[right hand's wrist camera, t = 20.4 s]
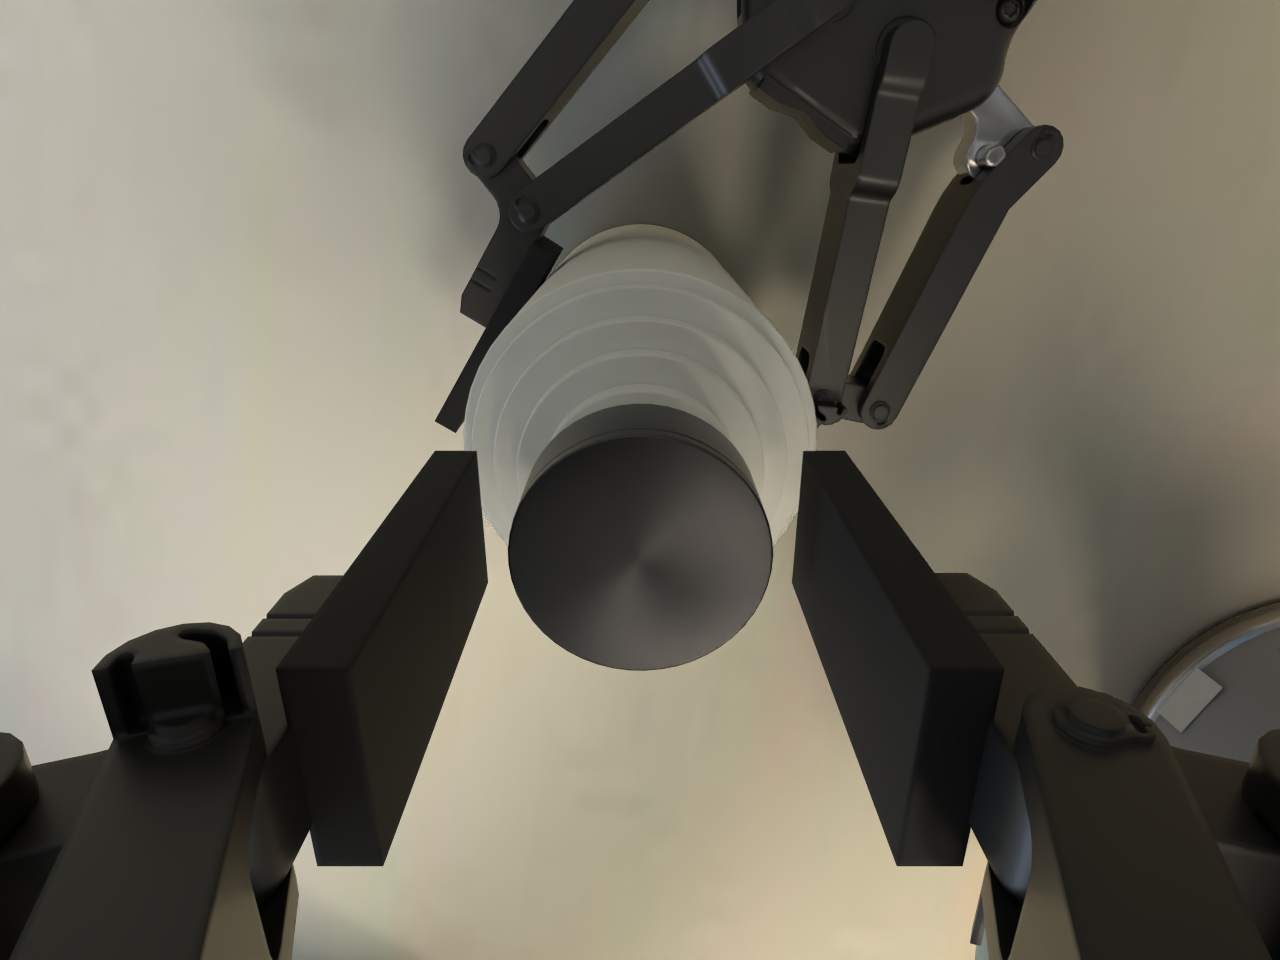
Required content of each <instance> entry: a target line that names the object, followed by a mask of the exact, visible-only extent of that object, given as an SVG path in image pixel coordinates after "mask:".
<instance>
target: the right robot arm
mask: <svg viewBox="0 0 1280 960" xmlns="http://www.w3.org/2000/svg"><path fill="white" fill-rule="evenodd" d="M487 584H488V577H487V565H486V554H485V542H484V530H483V518H482V506H481V495H480V483H479V471H478V459H477V451H435V452H434V453H433V454H432V456H431V457H430V458H429V460H428V461H427V463H426V464H425V465H424V467H423V468H422V469H421V471H420V472H419V473H418V475H417V476H416V478H415V479H414V480H413V482H412V483H411V484H410V486H409V487H408V488H407V490H406V491H405V493H404V494H403V495H402V497H401V498H400V499H399V501H398V502H397V503H396V505H395V506H394V508H393V509H392V510H391V512H390V513H389V514H388V516H387V517H386V518H385V520H384V521H383V523H382V524H381V525H380V527H379V528H378V529H377V531H376V532H375V533H374V535H373V536H372V538H371V539H370V540H369V542H368V543H367V544H366V546H365V547H364V548H363V550H362V551H361V553H360V554H359V555H358V557H357V558H356V559H355V561H354V562H353V563H352V565H351V566H350V568H349V569H348V570H347V572H346V573H345V574H344V576H312V577H310V578H309V579H307V580H306V581H304V582H302V583H301V584H299V585H297V586H296V587H294V588H293V589H291V590H289V591H288V592H286V593H284V595H283V596H282V597H281V598H280V599H279V601H278V602H277V603H276V604H275V605H274V606H273V608H272V609H271V610H270V611H269V612H268V614H267V618H266V619H263V620H262V621H261V622H260V623H259V624H258V625H257V627H256V628H255V629H254V630H253V631H252V636H251V637H247V639H246V640H245V641H244V642H243V643H242V640H241V635H240V634H239V633H237V632H236V631H235V630H233V629H232V628H231V627H229V626H225V625H220V624H215V623H210V622H207V623H189V624H181V625H176V626H172V627H168V628H163V629H159V630H155V631H153V632H150V633H148V634H145V635H143V636H140V637H138V638H135V639H133V640H130V641H128V642H126V643H125V644H123V645H121V646H120V647H118V648H117V649H115V650H113V651H112V652H110V653H109V654H107V655H106V656H105V657H104V658H103V659H102V660H101V661H100V662H99V663H98V664H97V665H96V666H95V668H94V669H93V670H92V674H93V677H94V680H95V683H96V686H97V689H98V692H99V695H100V698H101V702H102V705H103V708H104V711H105V714H106V717H107V720H108V723H109V726H110V730H111V733H112V736H113V741H112V743H111V746H110V748H109V749H108V750H105V751H101V752H97V753H92V754H88V755H83V756H78V757H73V758H68V759H63V760H59V761H54V762H49V763H44V764H39V765H34V766H31V763H30V761H29V758H28V755H27V753H26V750H25V747H24V745H23V742H22V741H20V740H19V739H17V738H16V737H15V736H13V735H12V734H10V733H1V732H0V960H291V957H292V949H293V940H294V932H295V923H296V914H297V906H298V897H299V893H298V886H297V880H296V875H295V871H294V866H293V862H294V860H295V858H296V856H297V854H298V852H299V850H300V848H301V846H302V844H303V842H304V840H305V838H306V836H307V834H308V832H309V830H310V834H311V838H312V843H313V848H314V852H315V857H316V862H317V866H383V865H384V862H385V860H386V857H387V854H388V851H389V849H390V846H391V843H392V841H393V838H394V835H395V833H396V830H397V827H398V824H399V822H400V819H401V816H402V814H403V811H404V808H405V806H406V803H407V800H408V797H409V795H410V792H411V789H412V787H413V784H414V781H415V778H416V776H417V773H418V770H419V768H420V765H421V762H422V760H423V757H424V754H425V751H426V749H427V746H428V743H429V741H430V738H431V735H432V733H433V730H434V727H435V724H436V722H437V719H438V716H439V714H440V711H441V708H442V705H443V703H444V700H445V697H446V695H447V692H448V689H449V687H450V684H451V681H452V678H453V676H454V673H455V670H456V668H457V665H458V662H459V660H460V657H461V654H462V651H463V649H464V646H465V643H466V641H467V638H468V635H469V632H470V630H471V627H472V624H473V622H474V619H475V616H476V614H477V611H478V608H479V605H480V603H481V600H482V597H483V595H484V592H485V589H486V587H487ZM792 584H793V586H794V589H795V592H796V595H797V597H798V600H799V603H800V605H801V608H802V611H803V614H804V616H805V619H806V622H807V624H808V627H809V630H810V632H811V635H812V638H813V641H814V643H815V646H816V649H817V651H818V654H819V657H820V659H821V662H822V665H823V668H824V670H825V673H826V676H827V678H828V681H829V684H830V687H831V689H832V692H833V695H834V697H835V700H836V703H837V705H838V708H839V711H840V714H841V716H842V719H843V722H844V724H845V727H846V730H847V732H848V735H849V738H850V741H851V743H852V746H853V749H854V751H855V754H856V757H857V760H858V762H859V765H860V768H861V770H862V773H863V776H864V778H865V781H866V784H867V787H868V789H869V792H870V795H871V797H872V800H873V803H874V805H875V808H876V811H877V814H878V816H879V819H880V822H881V824H882V827H883V830H884V833H885V835H886V838H887V841H888V843H889V846H890V849H891V851H892V854H893V857H894V860H895V862H896V865H897V866H963V862H964V857H965V852H966V848H967V843H968V838H969V834H970V829H971V828H972V830H973V832H974V834H975V836H976V838H977V840H978V842H979V844H980V846H981V848H982V850H983V852H984V854H985V856H986V858H987V860H988V862H987V866H986V871H985V875H984V879H983V884H982V888H981V892H980V897H979V901H978V905H977V910H976V914H975V919H974V923H973V928H972V934H971V941H970V943H971V944H975V945H979V946H981V943H982V939H983V935H984V930H985V929H986V938H987V946H988V955H989V960H1280V729H1275V730H1270V731H1269V732H1268V733H1266V734H1265V735H1263V736H1262V737H1260V738H1259V740H1258V742H1257V745H1256V748H1255V750H1254V753H1253V755H1252V758H1251V761H1250V763H1248V762H1243V761H1238V760H1234V759H1229V758H1224V757H1219V756H1214V755H1209V754H1204V753H1200V752H1195V751H1190V750H1185V749H1181V748H1177V747H1173V746H1170V744H1169V742H1168V740H1167V738H1166V737H1165V735H1164V734H1163V733H1162V732H1161V730H1160V729H1159V728H1158V726H1157V725H1156V724H1155V722H1154V721H1153V720H1151V719H1150V718H1148V717H1147V716H1146V715H1144V714H1143V713H1141V712H1140V711H1139V710H1137V709H1136V708H1135V707H1133V706H1132V705H1129V704H1127V703H1125V702H1123V701H1121V700H1119V699H1116V698H1114V697H1112V696H1110V695H1108V694H1105V693H1101V692H1097V691H1093V690H1090V689H1086V688H1082V687H1077V686H1076V684H1075V683H1074V682H1073V681H1072V680H1071V679H1070V677H1069V676H1068V675H1067V674H1066V673H1065V672H1064V670H1063V669H1062V668H1061V667H1060V666H1059V664H1058V663H1057V662H1056V661H1055V660H1054V659H1053V657H1052V656H1051V655H1050V654H1049V653H1048V652H1047V650H1046V649H1045V648H1044V647H1043V646H1042V644H1041V643H1040V642H1039V641H1038V640H1037V639H1036V637H1035V636H1034V635H1033V634H1029V629H1028V628H1027V627H1026V626H1025V624H1024V623H1023V622H1022V621H1021V620H1020V619H1019V617H1018V616H1014V611H1013V610H1012V609H1011V608H1010V607H1009V606H1008V604H1007V603H1006V602H1005V601H1004V600H1003V599H1002V597H1001V596H1000V595H999V594H998V593H997V591H995V590H994V589H992V588H990V587H989V586H987V585H985V584H984V583H982V582H981V581H979V580H977V579H976V578H974V577H972V576H971V575H969V574H968V573H934V572H933V570H932V569H931V568H930V566H929V565H928V563H927V562H926V561H925V559H924V558H923V557H922V555H921V554H920V553H919V551H918V550H917V548H916V547H915V546H914V544H913V543H912V542H911V540H910V539H909V538H908V536H907V535H906V533H905V532H904V531H903V529H902V528H901V527H900V525H899V524H898V523H897V521H896V520H895V518H894V517H893V516H892V514H891V513H890V512H889V510H888V509H887V508H886V506H885V505H884V503H883V502H882V501H881V499H880V498H879V497H878V495H877V494H876V493H875V491H874V490H873V488H872V487H871V486H870V484H869V483H868V482H867V480H866V479H865V478H864V476H863V475H862V473H861V472H860V471H859V469H858V468H857V467H856V465H855V464H854V463H853V461H852V460H851V458H850V457H849V456H848V454H847V453H846V452H845V451H803V459H802V471H801V483H800V495H799V506H798V518H797V530H796V542H795V554H794V565H793V577H792Z"/></svg>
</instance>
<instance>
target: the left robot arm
mask: <svg viewBox="0 0 1280 960" xmlns="http://www.w3.org/2000/svg"><path fill="white" fill-rule="evenodd" d="M648 1H649V0H574V1H573V2H572V4H571V5H570V6H569V8H568V9H567V10H566V11H565V13H564V14H563V15H562V17H561V18H560V19H559V21H558V22H557V23H556V25H555V26H554V27H553V28H552V30H551V31H550V32H549V34H548V35H547V36H546V38H545V39H544V40H543V42H542V43H541V44H540V45H539V47H538V48H537V49H536V51H535V52H534V53H533V55H532V56H531V57H530V59H529V60H528V61H527V62H526V64H525V65H524V66H523V68H522V69H521V70H520V72H519V73H518V74H517V76H516V77H515V78H514V79H513V81H512V82H511V83H510V85H509V86H508V87H507V89H506V90H505V91H504V93H503V94H502V95H501V97H500V98H499V99H498V100H497V102H496V103H495V104H494V106H493V107H492V108H491V110H490V111H489V112H488V114H487V115H486V116H485V117H484V119H483V120H482V121H481V123H480V124H479V125H478V127H477V128H476V129H475V131H474V132H473V133H472V134H471V136H470V137H469V138H468V140H467V142H466V144H465V146H464V148H463V158H464V162H465V165H466V166H467V168H468V169H469V170H470V172H471V173H473V174H474V175H476V176H477V177H478V178H479V179H480V180H481V182H482V183H483V184H484V185H485V187H486V188H487V189H488V190H489V192H490V193H491V194H492V195H493V197H494V198H495V200H496V201H497V204H498V207H499V211H500V221H499V224H498V227H497V229H496V231H495V233H494V235H493V237H492V239H491V241H490V243H489V245H488V246H487V248H486V250H485V252H484V254H483V256H482V258H481V260H480V262H479V263H478V265H477V268H476V269H475V271H474V273H473V275H472V277H471V279H470V280H469V282H468V284H467V286H466V288H465V290H464V292H463V294H462V298H461V309H460V312H461V313H462V314H464V315H466V316H467V317H469V318H471V319H472V320H474V321H476V322H477V323H479V324H481V325H482V326H484V327H486V329H485V331H484V332H483V334H482V336H481V338H480V340H479V342H478V343H477V345H476V347H475V349H474V351H473V352H472V354H471V356H470V358H469V360H468V362H467V363H466V365H465V367H464V369H463V371H462V373H461V374H460V376H459V378H458V380H457V382H456V383H455V385H454V387H453V389H452V391H451V393H450V394H449V396H448V398H447V400H446V402H445V403H444V405H443V407H442V409H441V411H440V413H439V414H438V416H437V418H436V420H435V422H437V423H439V424H441V425H442V426H444V427H446V428H448V429H450V430H451V431H453V432H455V433H456V432H457V430H458V429H459V427H460V426H461V425H462V423H463V422H464V420H465V411H466V406H467V402H468V398H469V393H470V389H471V386H472V384H473V381H474V379H475V376H476V373H477V371H478V368H479V366H480V364H481V363H482V361H483V359H484V357H485V355H486V354H487V352H488V350H489V348H490V347H491V345H492V344H493V343H494V341H495V340H496V339H497V338H498V336H499V335H500V334H501V332H502V331H503V330H504V328H505V327H506V326H507V325H508V324H509V323H510V321H511V320H512V319H513V318H514V317H515V316H516V314H517V313H518V312H519V311H520V310H521V309H522V308H523V306H524V305H525V304H526V303H527V302H528V301H529V299H530V298H531V297H532V296H533V295H534V294H535V292H536V291H537V290H538V289H539V288H540V287H541V286H542V284H543V283H544V282H545V280H546V278H547V276H548V274H549V273H550V271H551V269H552V267H553V266H554V264H555V262H556V260H557V259H558V257H559V255H560V253H561V251H562V250H563V248H562V247H561V246H559V245H558V244H556V243H554V242H553V241H551V240H550V239H548V238H547V237H545V236H544V234H545V232H546V230H547V228H548V227H549V225H550V223H552V222H553V221H554V220H556V219H557V218H559V217H560V216H561V215H563V214H564V213H565V212H567V211H568V210H570V209H571V208H572V207H574V206H575V205H577V204H578V203H579V202H581V201H582V200H583V199H585V198H586V197H588V196H589V195H590V194H592V193H593V192H595V191H596V190H597V189H599V188H600V187H601V186H603V185H604V184H606V183H607V182H608V181H610V180H611V179H613V178H614V177H615V176H617V175H618V174H619V173H621V172H622V171H624V170H625V169H626V168H628V167H629V166H631V165H632V164H633V163H635V162H636V161H637V160H639V159H640V158H642V157H643V156H644V155H646V154H647V153H649V152H650V151H651V150H653V149H654V148H655V147H657V146H658V145H660V144H661V143H662V142H664V141H665V140H667V139H668V138H669V137H671V136H672V135H673V134H675V133H676V132H678V131H679V130H680V129H682V128H683V127H685V126H686V125H687V124H689V123H690V122H691V121H693V120H694V119H696V118H697V117H698V116H700V115H701V114H703V113H704V112H705V111H707V110H708V109H709V108H711V107H712V106H714V105H715V104H717V103H718V102H719V101H721V100H722V99H724V98H725V97H726V96H728V95H729V94H731V93H732V92H733V91H735V90H736V89H738V88H739V87H740V86H742V85H743V84H744V83H746V84H747V86H748V87H749V89H750V90H751V91H750V93H749V95H751V96H752V97H754V98H755V99H756V100H758V101H759V102H760V103H762V104H763V105H765V106H766V107H767V108H769V109H771V110H774V111H777V112H780V113H783V114H786V115H789V116H792V117H794V118H795V119H796V120H797V122H798V123H799V124H800V126H801V127H802V128H803V129H804V131H805V132H806V133H807V135H808V136H809V137H810V139H812V140H813V141H815V142H816V143H817V144H819V145H820V146H821V147H823V148H824V149H826V150H827V151H828V152H830V153H832V152H836V153H835V158H834V162H833V167H832V172H831V177H830V198H829V203H828V208H827V212H826V217H825V222H824V227H823V231H822V236H821V241H820V245H819V250H818V255H817V260H816V264H815V269H814V274H813V278H812V283H811V288H810V292H809V297H808V302H807V307H806V311H805V316H804V321H803V325H802V330H801V335H800V339H799V344H798V349H797V354H796V357H797V359H798V361H799V363H800V365H801V367H802V370H803V372H804V374H805V376H806V379H807V381H808V384H809V388H810V391H811V395H812V398H813V402H814V408H815V415H816V422H817V428H818V427H819V426H820V425H821V424H823V425H831V424H834V423H836V422H838V421H840V420H841V419H846V420H851V421H856V422H860V423H864V424H865V425H867V426H868V427H870V428H872V429H883V428H886V427H888V426H889V425H891V424H892V423H893V422H894V420H895V419H896V418H897V416H898V414H899V412H900V410H901V408H902V406H903V405H904V403H905V401H906V399H907V397H908V395H909V394H910V392H911V390H912V388H913V386H914V384H915V382H916V381H917V379H918V377H919V375H920V373H921V371H922V369H923V368H924V366H925V364H926V362H927V360H928V358H929V356H930V355H931V353H932V351H933V349H934V347H935V345H936V343H937V342H938V340H939V338H940V336H941V334H942V332H943V330H944V329H945V327H946V325H947V323H948V321H949V319H950V318H951V316H952V314H953V312H954V310H955V308H956V306H957V305H958V303H959V301H960V299H961V297H962V295H963V293H964V292H965V290H966V288H967V286H968V284H969V282H970V280H971V279H972V277H973V275H974V273H975V271H976V269H977V267H978V266H979V264H980V262H981V260H982V258H983V256H984V254H985V253H986V251H987V249H988V247H989V245H990V243H991V242H992V240H993V238H994V236H995V234H996V232H997V230H998V229H999V227H1000V225H1001V223H1002V221H1003V219H1004V217H1005V216H1006V214H1007V212H1008V210H1009V209H1010V208H1011V207H1012V206H1013V205H1014V204H1015V203H1016V202H1017V201H1018V200H1019V199H1020V198H1021V197H1022V196H1023V195H1024V194H1025V193H1026V192H1027V191H1028V190H1029V189H1030V188H1031V187H1032V186H1033V185H1034V184H1035V183H1036V182H1037V181H1038V180H1039V179H1040V178H1041V177H1042V176H1043V175H1044V174H1045V173H1046V172H1047V171H1048V170H1049V169H1050V168H1051V167H1052V166H1053V165H1054V164H1055V163H1056V161H1057V160H1058V159H1059V157H1060V156H1061V153H1062V150H1063V137H1062V135H1061V133H1060V131H1059V130H1058V129H1056V128H1055V127H1053V126H1049V125H1040V126H1034V125H1032V124H1031V123H1030V122H1029V120H1028V119H1027V118H1026V117H1025V116H1024V115H1023V113H1022V112H1021V111H1020V110H1019V109H1018V108H1017V106H1016V105H1015V104H1014V103H1013V102H1012V101H1011V99H1010V98H1009V97H1008V96H1007V95H1006V94H1005V92H1004V91H1003V90H1002V89H1001V88H1000V87H999V85H998V84H999V82H1000V79H1001V76H1002V73H1003V69H1004V63H1005V58H1006V54H1007V50H1008V47H1009V44H1010V42H1011V39H1012V37H1013V35H1014V33H1015V31H1016V29H1017V28H1018V26H1019V25H1020V23H1021V22H1022V21H1023V19H1024V18H1025V16H1026V15H1027V14H1028V13H1029V11H1030V10H1031V8H1032V7H1033V6H1034V4H1035V3H1036V2H1037V0H737V28H736V29H735V30H733V31H732V32H731V33H729V34H728V35H726V36H725V37H724V38H722V39H721V40H720V41H718V42H717V43H716V44H714V45H713V46H712V47H710V48H709V49H708V50H707V51H705V52H704V53H703V54H702V55H701V56H700V57H698V58H697V59H696V60H695V61H693V62H692V63H691V64H690V65H688V66H687V67H685V68H684V69H683V70H681V71H680V72H679V73H677V74H676V75H675V76H673V77H672V78H671V79H669V80H668V81H667V82H665V83H664V84H663V85H661V86H660V87H658V88H657V89H656V90H654V91H653V92H652V93H650V94H649V95H648V96H646V97H645V98H644V99H642V100H641V101H640V102H638V103H637V104H636V105H634V106H633V107H631V108H630V109H629V110H627V111H626V112H625V113H623V114H622V115H621V116H619V117H618V118H617V119H615V120H614V121H613V122H611V123H610V124H609V125H607V126H606V127H604V128H603V129H602V130H600V131H599V132H598V133H596V134H595V135H594V136H592V137H591V138H590V139H588V140H587V141H586V142H584V143H583V144H582V145H580V146H579V147H577V148H576V149H575V150H573V151H572V152H571V153H569V154H568V155H567V156H565V157H564V158H563V159H561V160H560V161H559V162H557V163H556V164H555V165H553V166H552V167H550V168H549V169H548V170H546V171H545V172H544V173H542V174H541V175H540V176H538V177H537V178H536V176H535V175H534V174H533V173H532V171H531V170H530V169H529V167H528V166H527V165H526V164H525V162H524V161H523V160H522V159H523V158H524V157H525V156H526V154H527V153H528V152H529V151H530V149H531V148H532V147H533V146H534V144H535V143H536V142H537V141H538V139H539V138H540V137H541V135H542V134H543V133H544V132H545V130H546V129H547V128H548V127H549V125H550V124H551V123H552V122H553V120H554V119H555V118H556V117H557V115H558V114H559V113H560V112H561V110H562V109H563V108H564V107H565V105H566V104H567V103H568V102H569V100H570V99H571V98H572V97H573V95H574V94H575V93H576V92H577V90H578V89H579V88H580V86H581V85H582V84H583V83H584V81H585V80H586V79H587V78H588V76H589V75H590V74H591V73H592V71H593V70H594V69H595V68H596V66H597V65H598V64H599V63H600V61H601V60H602V59H603V58H604V56H605V55H606V54H607V53H608V51H609V50H610V49H611V48H612V46H613V45H614V44H615V43H616V41H617V40H618V39H619V37H620V36H621V35H622V34H623V32H624V31H625V30H626V29H627V27H628V26H629V25H630V24H631V22H632V21H633V20H634V19H635V17H636V16H637V15H638V14H639V12H640V11H641V10H642V9H643V7H644V6H645V5H646V4H647V2H648ZM958 116H960V117H961V119H962V120H963V124H964V135H963V138H962V141H961V142H960V144H959V146H958V147H957V149H956V151H955V154H954V162H953V163H954V167H955V170H956V171H957V173H958V174H957V175H956V176H955V177H954V178H953V179H952V181H951V182H950V184H949V185H948V186H947V188H946V189H945V191H944V192H943V194H942V195H941V197H940V199H939V201H938V202H937V204H936V206H935V208H934V210H933V212H932V214H931V216H930V218H929V220H928V222H927V224H926V226H925V228H924V230H923V232H922V234H921V236H920V238H919V240H918V242H917V243H916V245H915V247H914V249H913V251H912V253H911V255H910V257H909V259H908V261H907V263H906V265H905V267H904V269H903V271H902V273H901V275H900V277H899V279H898V281H897V283H896V285H895V287H894V289H893V291H892V293H891V295H890V297H889V299H888V301H887V303H886V305H885V307H884V309H883V311H882V313H881V315H880V317H879V319H878V321H877V323H876V325H875V327H874V329H873V331H872V333H871V335H870V337H869V339H868V341H867V343H866V345H865V346H864V348H863V350H862V352H861V354H860V356H859V358H858V360H857V362H856V364H855V366H854V368H853V370H852V372H851V374H850V375H848V373H849V369H850V365H851V361H852V357H853V353H854V348H855V344H856V340H857V336H858V332H859V328H860V323H861V319H862V315H863V311H864V307H865V303H866V299H867V294H868V290H869V286H870V282H871V278H872V274H873V269H874V265H875V261H876V257H877V253H878V249H879V245H880V240H881V236H882V232H883V228H884V224H885V220H886V215H887V211H888V207H889V204H890V201H891V199H892V197H893V196H894V194H895V193H896V191H897V189H898V187H899V183H900V180H901V176H902V172H903V168H904V164H905V160H906V156H907V151H908V147H909V143H910V139H911V136H913V135H916V134H918V133H920V132H923V131H925V130H927V129H930V128H932V127H934V126H937V125H939V124H942V123H944V122H946V121H949V120H951V119H953V118H956V117H958ZM1134 707H1135V708H1136V709H1137V710H1139V711H1140V712H1141V713H1143V714H1144V715H1146V716H1147V717H1148V718H1150V719H1151V720H1153V721H1154V722H1155V724H1156V725H1157V726H1158V728H1159V729H1160V730H1161V732H1162V733H1163V734H1164V735H1165V737H1166V738H1167V740H1168V742H1169V744H1170V746H1173V747H1177V748H1181V749H1185V750H1190V751H1195V752H1200V753H1204V754H1209V755H1214V756H1219V757H1224V758H1229V759H1234V760H1238V761H1243V762H1248V763H1250V761H1251V758H1252V755H1253V753H1254V750H1255V748H1256V745H1257V742H1258V740H1259V738H1260V737H1262V736H1263V735H1265V734H1266V733H1268V732H1269V731H1270V730H1275V729H1280V602H1278V603H1273V604H1270V605H1266V606H1263V607H1260V608H1256V609H1253V610H1251V611H1248V612H1246V613H1243V614H1240V615H1238V616H1236V617H1234V618H1231V619H1229V620H1227V621H1225V622H1223V623H1221V624H1219V625H1217V626H1216V627H1214V628H1212V629H1210V630H1208V631H1207V632H1205V633H1204V634H1202V635H1201V636H1199V637H1198V638H1196V639H1195V640H1193V641H1192V642H1190V643H1189V644H1188V645H1186V646H1185V647H1184V648H1183V649H1181V650H1180V651H1179V652H1178V653H1177V654H1175V655H1174V656H1173V657H1172V658H1171V659H1170V660H1169V661H1168V662H1167V663H1166V664H1165V665H1164V666H1163V667H1162V668H1161V669H1160V670H1159V671H1158V672H1157V673H1156V674H1155V676H1154V677H1153V678H1152V679H1151V680H1150V682H1149V683H1148V684H1147V686H1146V687H1145V688H1144V690H1143V691H1142V693H1141V694H1140V696H1139V698H1138V699H1137V701H1136V703H1135V705H1134ZM975 960H989V955H988V946H987V938H986V929H985V930H984V935H983V939H982V943H981V946H979V945H977V946H976V952H975Z"/></svg>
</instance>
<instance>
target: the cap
mask: <svg viewBox="0 0 1280 960" xmlns="http://www.w3.org/2000/svg"><path fill="white" fill-rule="evenodd" d="M772 560H773V544H772V536H771V530H770V525H769V522H768V519H767V516H766V514H765V511H764V508H763V505H762V503H761V500H760V497H759V494H758V492H757V489H756V486H755V483H754V481H753V478H752V475H751V473H750V470H749V468H748V466H747V464H746V463H745V461H744V459H743V457H742V456H741V454H740V453H739V452H738V450H737V449H736V447H735V446H734V445H733V444H732V443H731V442H730V441H729V440H728V439H727V438H726V437H725V436H724V435H723V434H722V433H721V432H720V431H718V430H717V429H716V428H714V427H713V426H712V425H710V424H709V423H707V422H705V421H704V420H702V419H700V418H699V417H697V416H694V415H692V414H690V413H687V412H685V411H682V410H679V409H675V408H672V407H668V406H662V405H655V404H626V405H618V406H614V407H609V408H605V409H602V410H599V411H596V412H594V413H591V414H588V415H586V416H585V417H583V418H581V419H579V420H577V421H575V422H574V423H572V424H571V425H569V426H568V427H567V428H565V429H564V430H562V431H561V432H560V433H559V434H558V435H557V436H556V437H555V438H554V439H553V440H551V441H550V443H549V444H548V445H547V446H546V448H545V449H544V450H543V451H542V453H541V454H540V456H539V457H538V459H537V461H536V462H535V464H534V466H533V468H532V470H531V473H530V475H529V477H528V480H527V483H526V485H525V488H524V491H523V494H522V496H521V499H520V502H519V505H518V507H517V510H516V513H515V516H514V518H513V522H512V526H511V530H510V534H509V544H508V562H509V569H510V574H511V580H512V582H513V585H514V588H515V591H516V594H517V596H518V598H519V600H520V602H521V604H522V606H523V608H524V609H525V611H526V612H527V614H528V615H529V617H530V618H531V619H532V621H533V622H534V623H535V624H536V625H537V626H538V627H539V629H540V630H541V631H542V632H543V633H544V634H545V635H547V636H548V637H549V638H550V639H551V640H552V641H554V642H555V643H556V644H558V645H559V646H561V647H562V648H564V649H565V650H567V651H568V652H570V653H572V654H574V655H576V656H578V657H580V658H582V659H585V660H587V661H590V662H593V663H596V664H599V665H603V666H607V667H611V668H616V669H624V670H644V671H646V670H657V669H665V668H670V667H675V666H679V665H682V664H685V663H688V662H691V661H694V660H696V659H698V658H701V657H703V656H705V655H707V654H709V653H711V652H712V651H714V650H716V649H717V648H719V647H721V646H722V645H723V644H725V643H726V642H727V641H728V640H730V639H731V638H732V637H734V636H735V635H736V634H737V633H738V632H739V631H740V630H741V629H742V628H743V627H744V626H745V624H746V623H747V622H748V620H749V619H750V618H751V616H752V615H753V614H754V612H755V611H756V609H757V607H758V605H759V604H760V602H761V600H762V598H763V596H764V593H765V591H766V588H767V586H768V582H769V578H770V574H771V570H772Z"/></svg>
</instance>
